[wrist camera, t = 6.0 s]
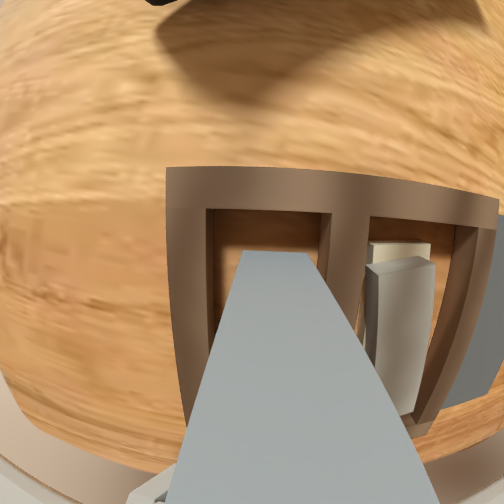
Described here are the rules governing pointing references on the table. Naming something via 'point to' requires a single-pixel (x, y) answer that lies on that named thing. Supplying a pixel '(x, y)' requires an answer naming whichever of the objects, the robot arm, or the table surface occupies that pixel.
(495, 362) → the mat
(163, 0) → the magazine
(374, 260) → the offcut lower
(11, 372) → the table surface
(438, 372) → the rack
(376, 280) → the offcut upper
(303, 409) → the sheet
